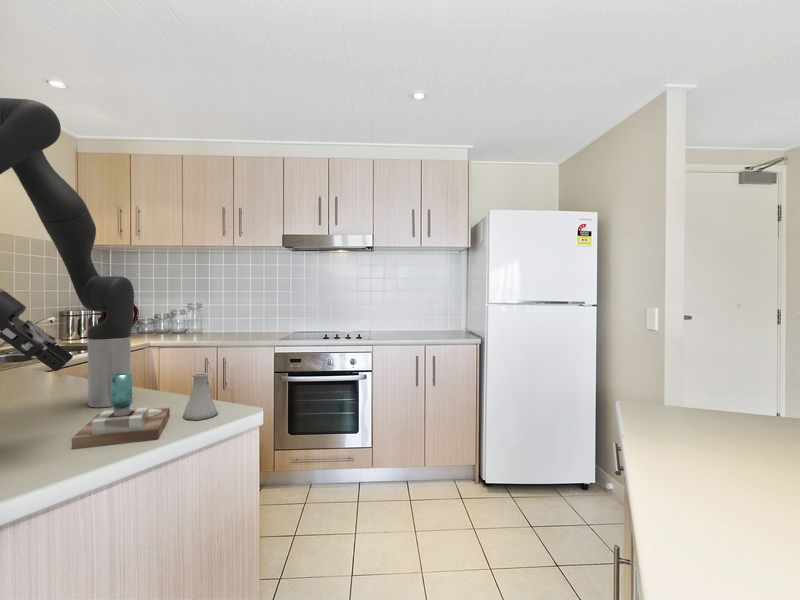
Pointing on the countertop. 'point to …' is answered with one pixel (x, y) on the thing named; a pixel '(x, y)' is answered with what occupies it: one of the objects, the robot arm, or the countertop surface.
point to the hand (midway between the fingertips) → (65, 363)
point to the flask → (200, 400)
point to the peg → (121, 394)
